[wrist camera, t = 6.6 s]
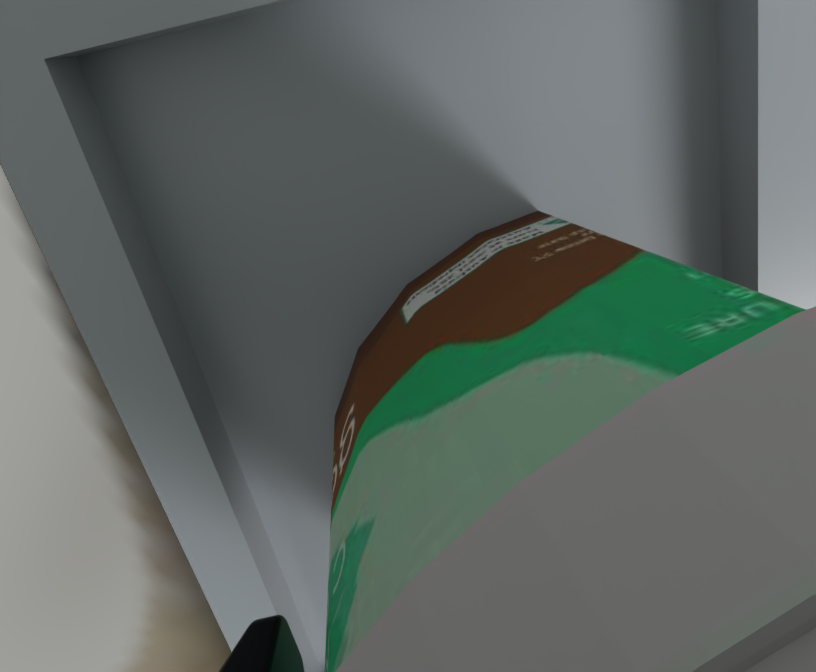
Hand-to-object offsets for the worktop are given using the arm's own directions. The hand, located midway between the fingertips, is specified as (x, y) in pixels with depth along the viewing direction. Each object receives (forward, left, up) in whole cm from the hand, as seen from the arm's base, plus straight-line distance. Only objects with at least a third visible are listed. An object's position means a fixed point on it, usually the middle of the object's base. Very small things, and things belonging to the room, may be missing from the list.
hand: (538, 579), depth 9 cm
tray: (0, 0, -6) cm, 6 cm away
